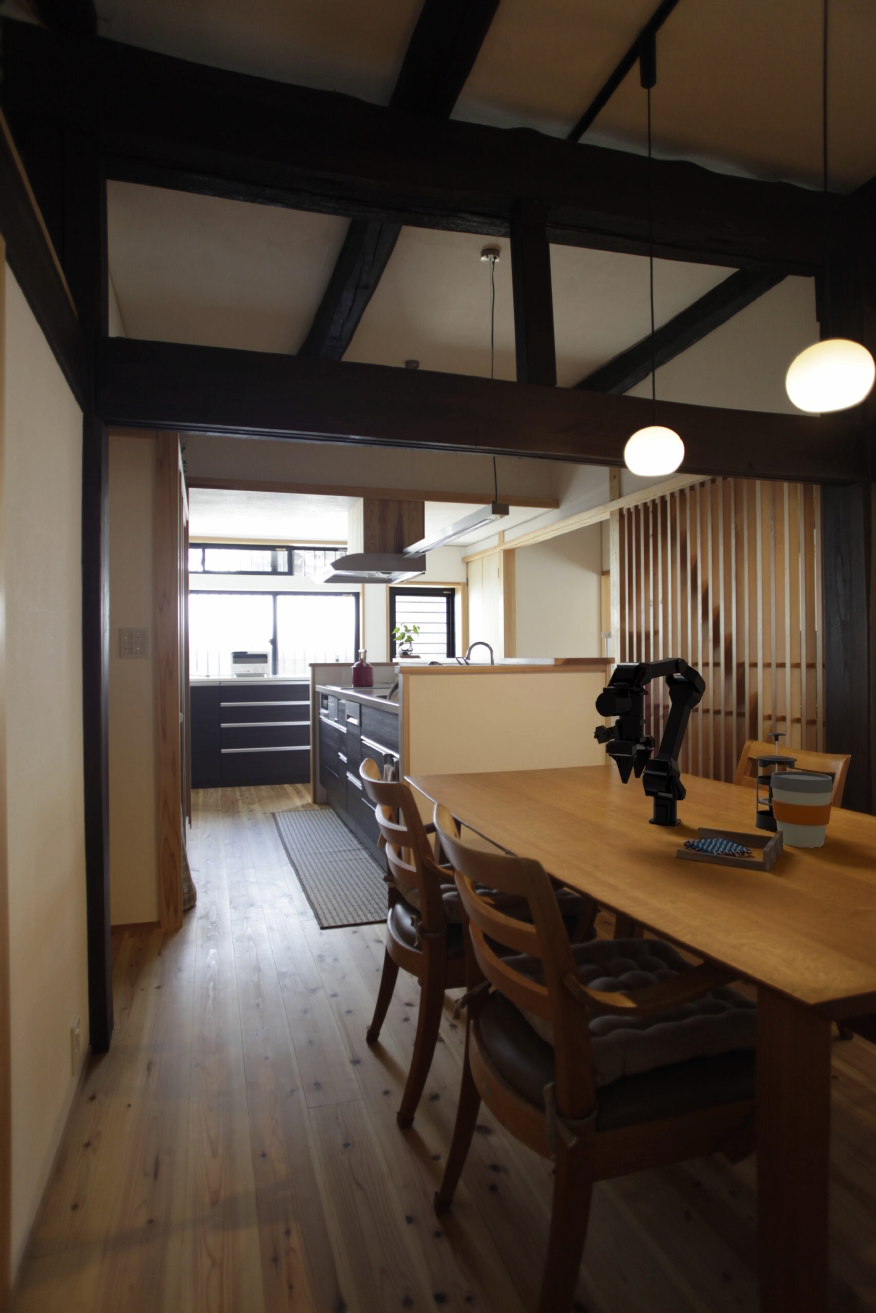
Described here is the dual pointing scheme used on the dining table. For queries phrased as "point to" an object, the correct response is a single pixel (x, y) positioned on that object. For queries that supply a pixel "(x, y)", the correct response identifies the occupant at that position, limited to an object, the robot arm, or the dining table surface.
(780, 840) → the box
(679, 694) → the robot arm
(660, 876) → the dining table surface
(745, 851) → the woven mat
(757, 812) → the french press
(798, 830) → the reusable coffee cup
